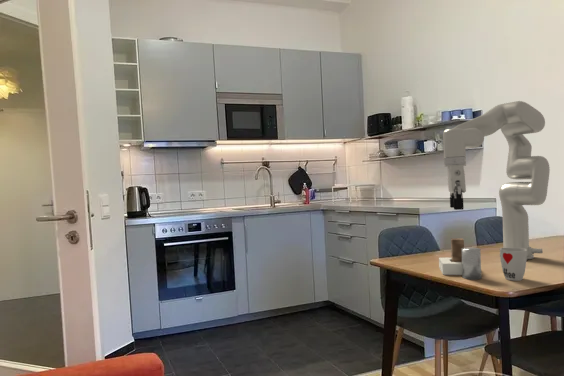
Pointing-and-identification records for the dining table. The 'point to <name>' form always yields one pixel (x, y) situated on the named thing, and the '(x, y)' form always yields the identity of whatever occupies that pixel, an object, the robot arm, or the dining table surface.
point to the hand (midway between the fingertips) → (456, 208)
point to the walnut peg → (456, 249)
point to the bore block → (450, 266)
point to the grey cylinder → (471, 263)
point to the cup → (513, 262)
